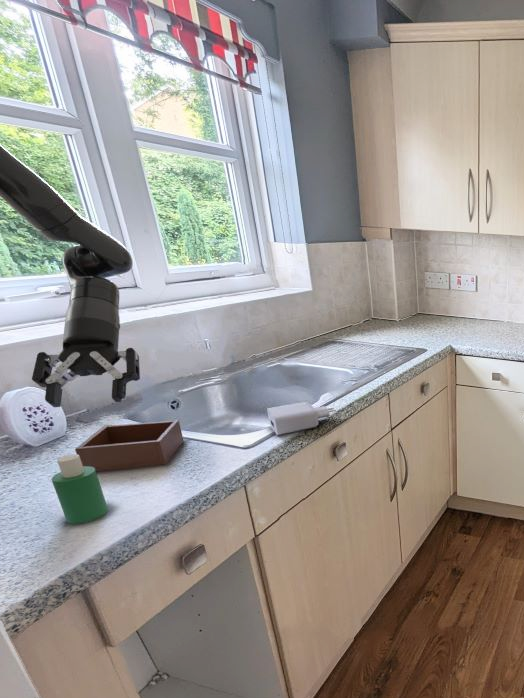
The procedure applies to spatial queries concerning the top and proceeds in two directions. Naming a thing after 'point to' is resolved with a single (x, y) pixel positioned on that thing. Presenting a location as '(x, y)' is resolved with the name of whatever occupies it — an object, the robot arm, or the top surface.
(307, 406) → the charger
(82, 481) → the green bottle
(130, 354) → the robot arm
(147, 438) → the tray
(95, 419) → the top surface
